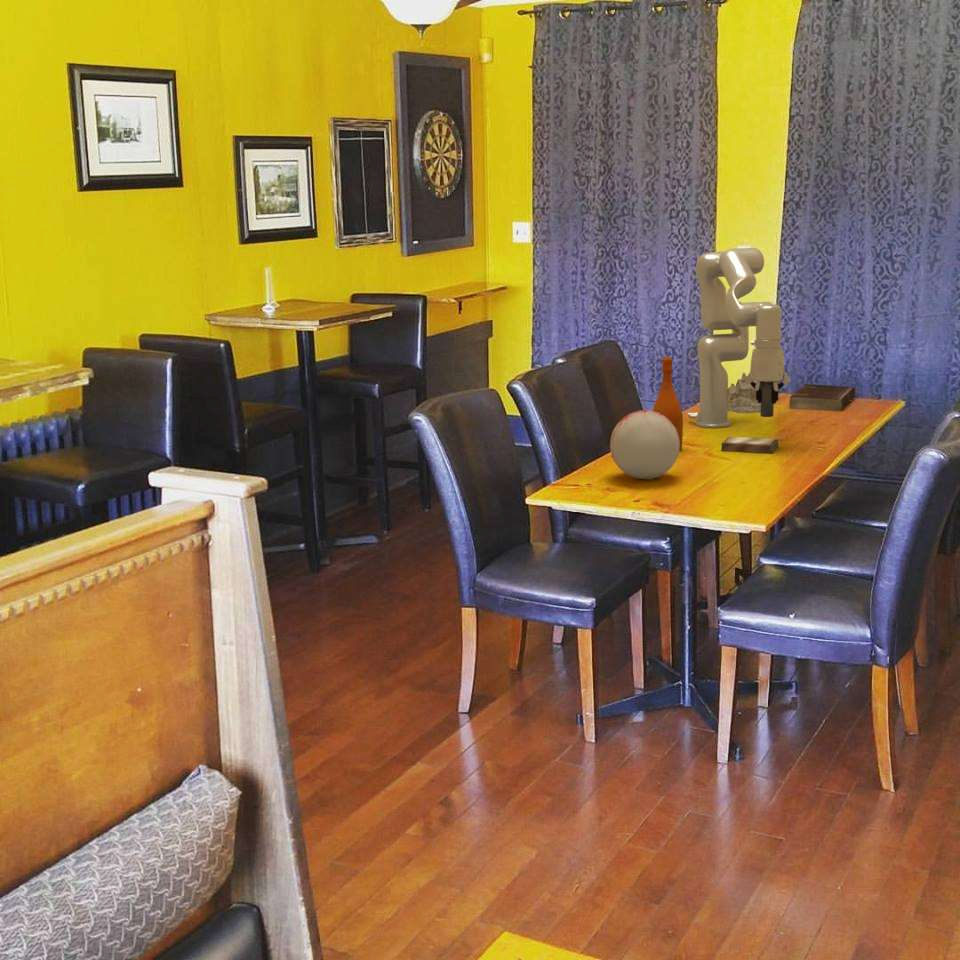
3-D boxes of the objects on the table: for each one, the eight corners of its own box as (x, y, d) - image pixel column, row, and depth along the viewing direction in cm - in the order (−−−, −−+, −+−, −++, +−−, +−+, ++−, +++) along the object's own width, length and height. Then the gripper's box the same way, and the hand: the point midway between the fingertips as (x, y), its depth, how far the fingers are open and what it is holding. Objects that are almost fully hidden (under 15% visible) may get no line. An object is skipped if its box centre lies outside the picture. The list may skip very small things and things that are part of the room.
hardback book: (841, 412, 446) (842, 399, 445) (789, 410, 454) (789, 396, 453) (855, 398, 471) (855, 386, 470) (805, 396, 479) (806, 384, 478)
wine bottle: (686, 447, 396) (686, 355, 389) (677, 453, 387) (678, 359, 380) (656, 445, 400) (656, 354, 393) (647, 452, 392) (647, 358, 384)
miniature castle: (775, 411, 448) (773, 370, 446) (730, 415, 448) (728, 374, 446) (764, 406, 464) (763, 367, 461) (721, 410, 464) (719, 370, 461)
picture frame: (721, 450, 389) (721, 442, 389) (728, 444, 398) (728, 436, 398) (772, 453, 383) (772, 445, 382) (778, 447, 392) (778, 438, 391)
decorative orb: (608, 471, 368) (607, 405, 363) (675, 469, 367) (675, 403, 363) (613, 488, 348) (612, 419, 343) (684, 486, 347) (684, 416, 342)
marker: (759, 416, 385) (759, 372, 382) (761, 414, 388) (762, 370, 385) (772, 417, 383) (772, 372, 380) (774, 415, 387) (775, 370, 383)
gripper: (738, 345, 381) (737, 404, 385) (793, 346, 374) (792, 405, 378) (743, 342, 387) (743, 400, 391) (797, 343, 381) (796, 401, 385)
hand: (767, 402), depth 385 cm, fingers closed on marker, 4 cm apart
